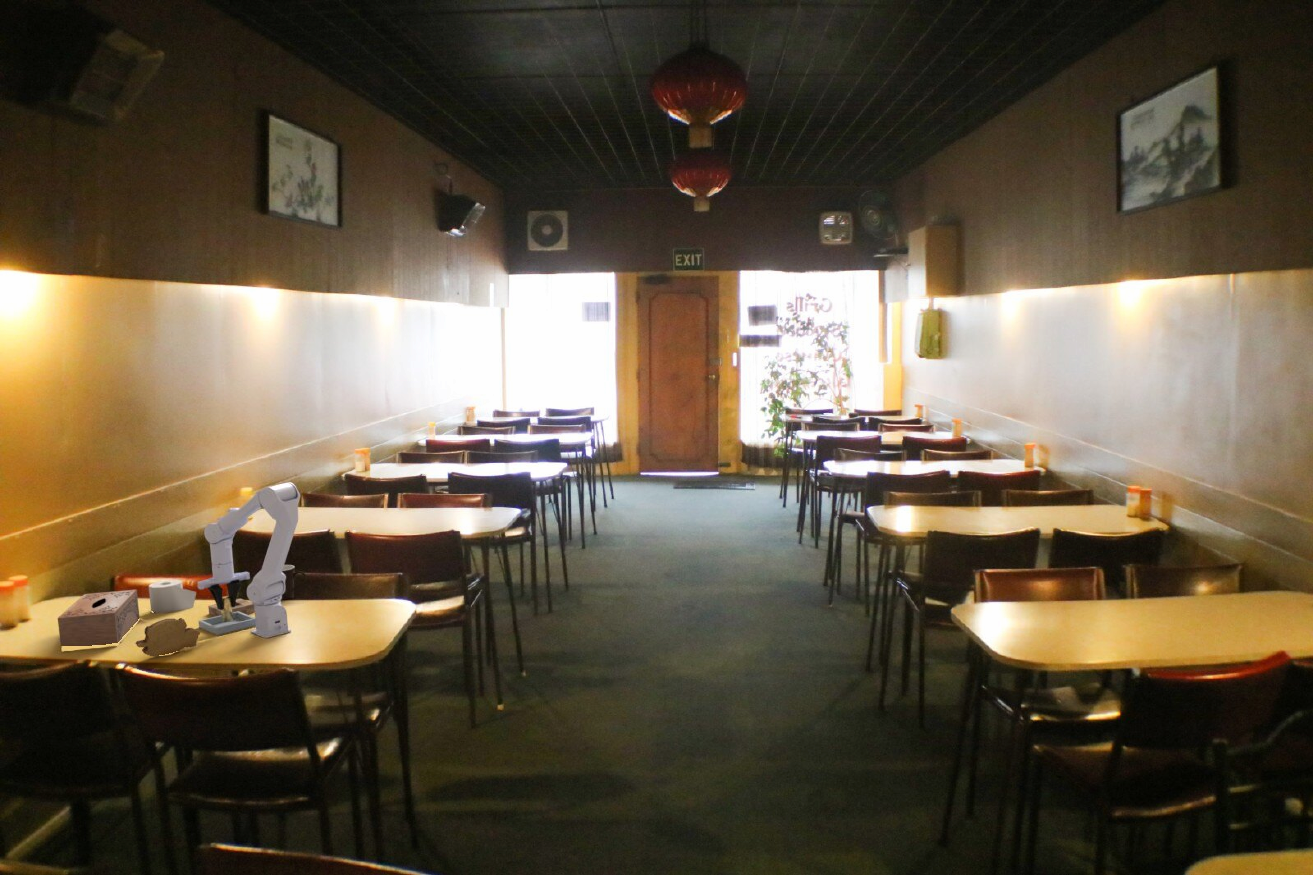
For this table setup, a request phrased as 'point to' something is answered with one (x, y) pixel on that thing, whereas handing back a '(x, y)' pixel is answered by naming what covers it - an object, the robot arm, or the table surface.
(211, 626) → the tray
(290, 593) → the coffee mug
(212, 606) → the socket block
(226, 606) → the brass pin
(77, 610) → the tissue box cover
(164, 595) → the toilet tissue
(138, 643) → the wooden carving
